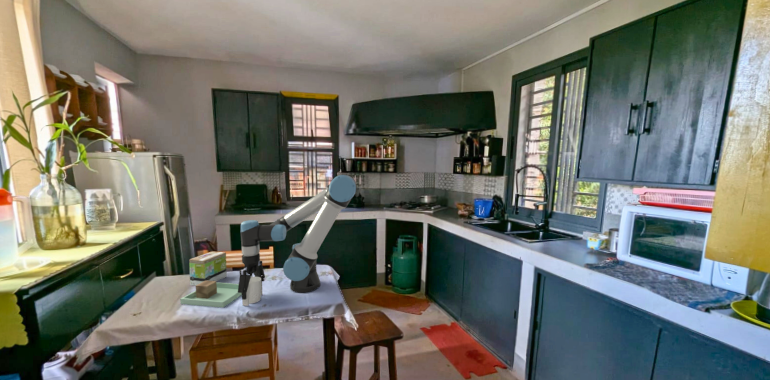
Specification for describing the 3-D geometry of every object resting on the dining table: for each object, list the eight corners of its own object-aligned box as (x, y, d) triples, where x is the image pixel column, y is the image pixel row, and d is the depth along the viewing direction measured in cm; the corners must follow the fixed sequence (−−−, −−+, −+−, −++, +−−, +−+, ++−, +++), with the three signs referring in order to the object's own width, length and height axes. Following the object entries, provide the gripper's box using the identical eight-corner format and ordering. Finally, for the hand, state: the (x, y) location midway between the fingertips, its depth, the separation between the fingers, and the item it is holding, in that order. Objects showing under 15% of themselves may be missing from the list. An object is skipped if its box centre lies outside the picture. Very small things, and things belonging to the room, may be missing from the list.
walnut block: (217, 293, 139) (216, 281, 138) (207, 298, 133) (206, 286, 132) (206, 292, 140) (205, 280, 139) (196, 297, 134) (195, 285, 133)
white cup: (256, 294, 138) (255, 275, 137) (265, 299, 133) (264, 279, 132) (240, 301, 132) (239, 280, 131) (249, 306, 127) (248, 284, 126)
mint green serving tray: (249, 290, 143) (249, 284, 143) (223, 308, 125) (222, 302, 124) (211, 287, 146) (211, 282, 146) (180, 305, 128) (180, 298, 128)
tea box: (206, 288, 146) (204, 260, 144) (189, 286, 148) (187, 259, 146) (227, 276, 160) (226, 251, 159) (212, 275, 162) (211, 250, 161)
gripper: (257, 246, 142) (259, 288, 144) (226, 261, 120) (229, 311, 122) (271, 247, 141) (273, 289, 143) (242, 262, 119) (244, 312, 121)
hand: (252, 299), depth 132 cm, fingers open, 10 cm apart
